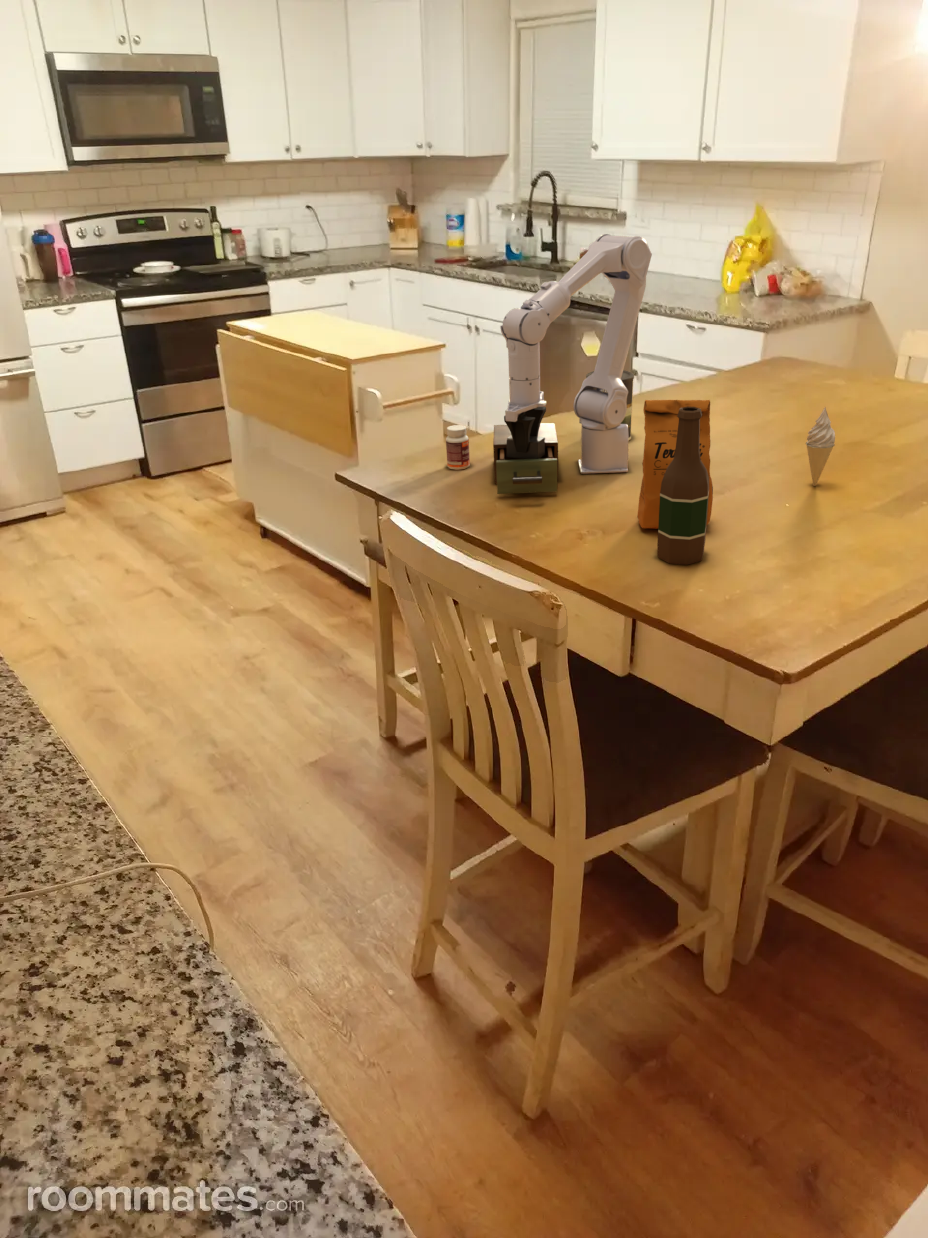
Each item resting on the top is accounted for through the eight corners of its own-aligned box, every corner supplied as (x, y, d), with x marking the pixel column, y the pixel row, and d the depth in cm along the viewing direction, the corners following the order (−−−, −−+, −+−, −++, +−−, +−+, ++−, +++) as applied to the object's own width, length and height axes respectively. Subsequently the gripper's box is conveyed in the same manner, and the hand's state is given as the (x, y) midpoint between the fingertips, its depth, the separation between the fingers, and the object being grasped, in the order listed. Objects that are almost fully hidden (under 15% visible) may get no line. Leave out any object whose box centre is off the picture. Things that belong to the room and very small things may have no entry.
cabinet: (558, 481, 181) (558, 442, 178) (494, 484, 182) (493, 444, 178) (554, 460, 193) (554, 422, 190) (495, 462, 194) (493, 424, 190)
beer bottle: (650, 548, 151) (657, 403, 140) (696, 544, 151) (707, 400, 140) (663, 567, 144) (671, 417, 133) (711, 563, 144) (724, 413, 133)
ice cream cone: (828, 481, 174) (839, 403, 167) (828, 490, 169) (840, 410, 162) (800, 480, 175) (810, 402, 168) (800, 489, 171) (810, 409, 164)
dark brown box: (544, 454, 176) (544, 433, 174) (538, 459, 173) (537, 438, 171) (514, 451, 178) (513, 430, 176) (506, 457, 175) (506, 436, 173)
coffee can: (626, 446, 199) (628, 381, 193) (580, 443, 203) (580, 379, 196) (636, 432, 208) (638, 369, 201) (592, 429, 211) (593, 368, 205)
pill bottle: (467, 470, 191) (465, 430, 187) (445, 469, 191) (442, 430, 188) (471, 462, 195) (470, 424, 191) (450, 462, 196) (447, 424, 192)
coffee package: (709, 538, 153) (719, 407, 143) (634, 534, 156) (639, 406, 146) (711, 516, 162) (721, 391, 151) (639, 512, 165) (644, 390, 154)
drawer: (558, 500, 170) (558, 468, 167) (497, 502, 170) (496, 470, 168) (554, 470, 185) (553, 439, 182) (497, 472, 186) (496, 442, 183)
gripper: (530, 387, 161) (531, 462, 167) (558, 369, 173) (558, 439, 179) (493, 385, 164) (496, 458, 170) (523, 367, 175) (525, 436, 182)
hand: (525, 448), depth 175 cm, fingers closed on dark brown box, 3 cm apart
